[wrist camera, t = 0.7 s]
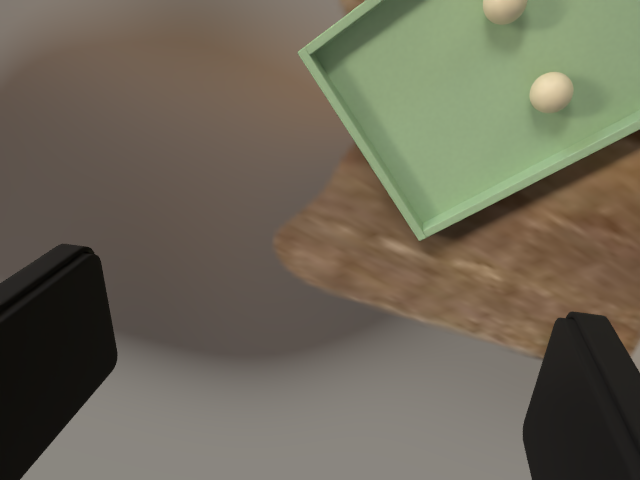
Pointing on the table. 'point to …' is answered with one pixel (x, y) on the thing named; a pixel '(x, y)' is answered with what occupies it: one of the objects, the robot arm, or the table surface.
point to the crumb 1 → (503, 10)
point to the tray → (476, 95)
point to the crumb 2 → (551, 92)
